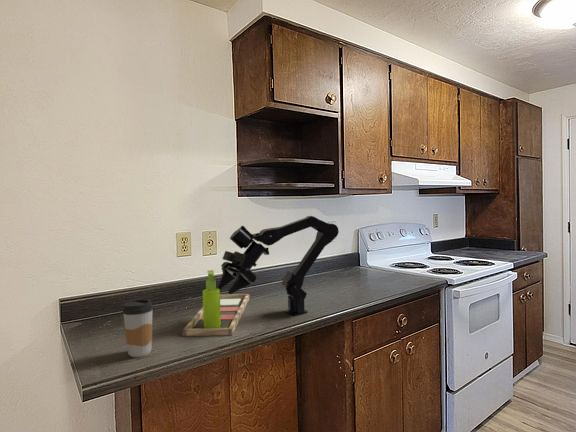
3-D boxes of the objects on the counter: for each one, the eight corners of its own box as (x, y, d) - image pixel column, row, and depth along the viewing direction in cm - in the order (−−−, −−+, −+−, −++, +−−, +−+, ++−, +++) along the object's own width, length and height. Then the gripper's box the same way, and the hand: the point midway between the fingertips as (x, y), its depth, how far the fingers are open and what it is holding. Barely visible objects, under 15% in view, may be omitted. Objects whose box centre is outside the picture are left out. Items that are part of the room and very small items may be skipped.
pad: (237, 305, 151) (237, 304, 151) (216, 305, 151) (216, 304, 151) (241, 299, 160) (241, 298, 160) (220, 299, 160) (220, 299, 160)
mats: (234, 319, 133) (234, 319, 133) (200, 320, 133) (200, 319, 133) (240, 307, 148) (240, 307, 148) (210, 308, 148) (210, 307, 148)
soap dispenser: (204, 332, 121) (202, 273, 120) (203, 325, 128) (201, 269, 127) (221, 330, 123) (219, 272, 122) (220, 323, 129) (218, 268, 128)
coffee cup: (145, 344, 111) (143, 297, 111) (160, 351, 106) (158, 301, 105) (119, 354, 105) (116, 303, 104) (133, 361, 100) (130, 308, 99)
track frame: (231, 335, 118) (231, 329, 118) (182, 335, 118) (182, 330, 118) (249, 298, 162) (249, 293, 161) (213, 299, 162) (213, 294, 162)
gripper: (225, 240, 137) (198, 272, 132) (248, 245, 122) (218, 281, 116) (244, 258, 142) (218, 290, 136) (268, 265, 126) (240, 301, 121)
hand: (223, 290), depth 127 cm, fingers open, 9 cm apart
